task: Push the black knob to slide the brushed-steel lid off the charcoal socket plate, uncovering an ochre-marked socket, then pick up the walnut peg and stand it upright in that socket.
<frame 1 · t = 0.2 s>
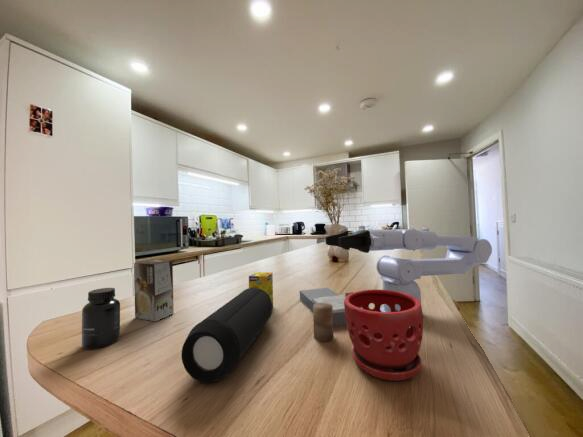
hand: (332, 241, 60), 21 cm above the table, tool horizontal, fingers open, 7 cm apart
supplement box: (261, 310, 71), on the table
sliding lid: (335, 297, 65), point 5 cm above the table, slide at 0.0 cm
walnut peg: (323, 337, 53), on the table
plant pot: (383, 365, 42), on the table
supplement bottle: (101, 343, 53), on the table
portable speaker: (237, 348, 50), on the table
coffee box: (154, 316, 69), on the table
socket plate: (335, 315, 65), on the table
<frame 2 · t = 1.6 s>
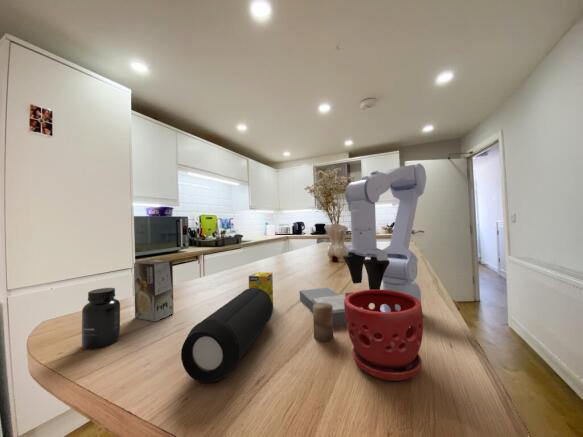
hand: (365, 286, 56), 10 cm above the table, tool pointing down, fingers open, 7 cm apart
nothing on the table moved.
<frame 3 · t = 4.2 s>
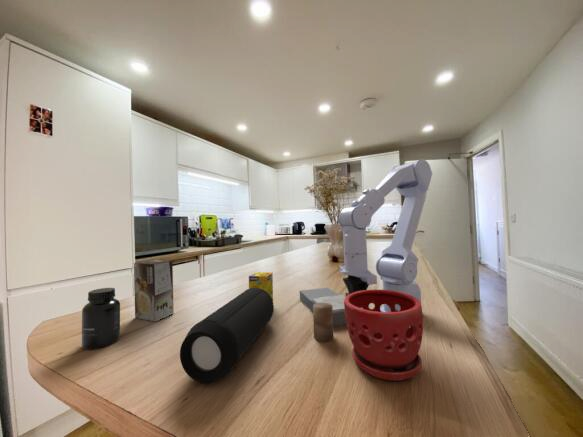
hand: (357, 306, 59), 4 cm above the table, tool pointing down, fingers closed
sliding lid: (335, 297, 65), point 5 cm above the table, slide at 0.0 cm, touching gripper
everything else where it was.
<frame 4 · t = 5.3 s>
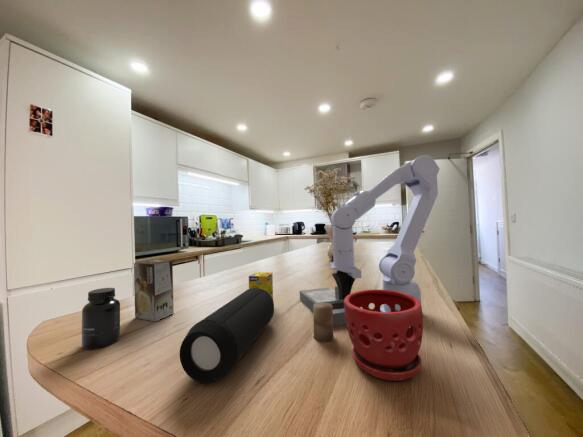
hand: (345, 298, 66), 4 cm above the table, tool pointing down, fingers closed
sliding lid: (326, 291, 71), point 5 cm above the table, slide at 6.4 cm, touching gripper
everything else where it was.
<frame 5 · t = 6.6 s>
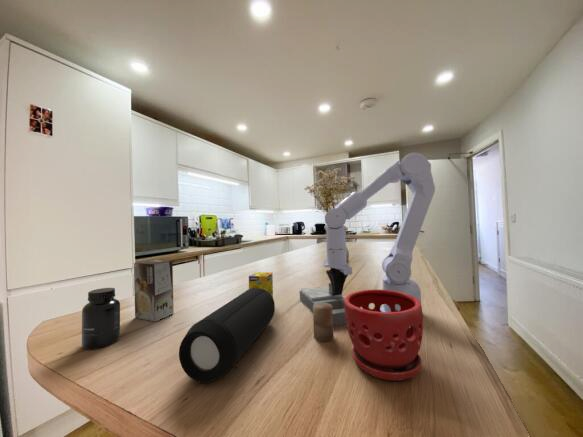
hand: (337, 294, 70), 4 cm above the table, tool pointing down, fingers closed
sliding lid: (320, 288, 75), point 5 cm above the table, slide at 10.8 cm, touching gripper
everything else where it was.
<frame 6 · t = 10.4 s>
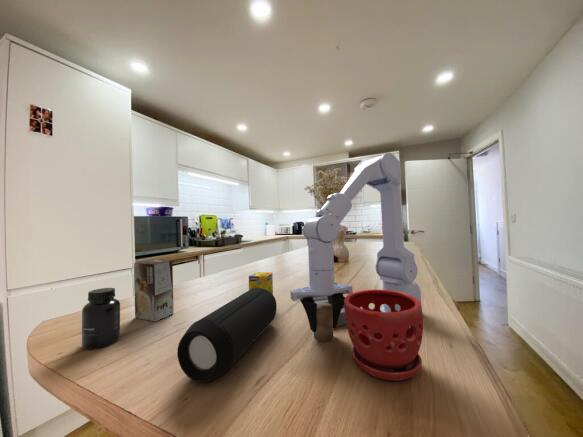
hand: (323, 328, 53), 2 cm above the table, tool pointing down, fingers closed on walnut peg, 4 cm apart
sliding lid: (320, 287, 75), point 5 cm above the table, slide at 10.9 cm
walnut peg: (323, 336, 53), on the table, touching gripper
everything else where it was.
when the fingers open (4 cm above the table, at t = 14.5 s): walnut peg drops 2 cm, resting on socket plate.
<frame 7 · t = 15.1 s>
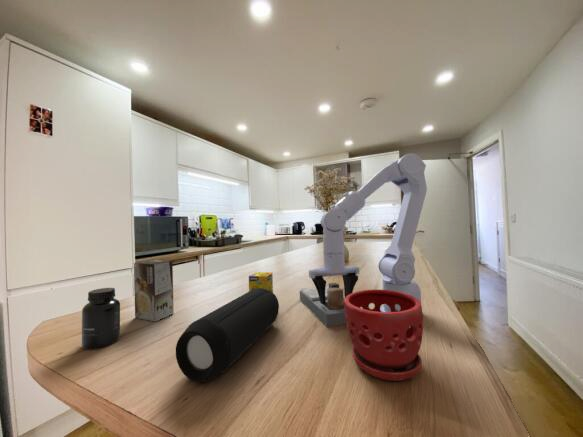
hand: (335, 301, 65), 4 cm above the table, tool pointing down, fingers open, 7 cm apart
walnut peg: (336, 315, 65), resting on socket plate
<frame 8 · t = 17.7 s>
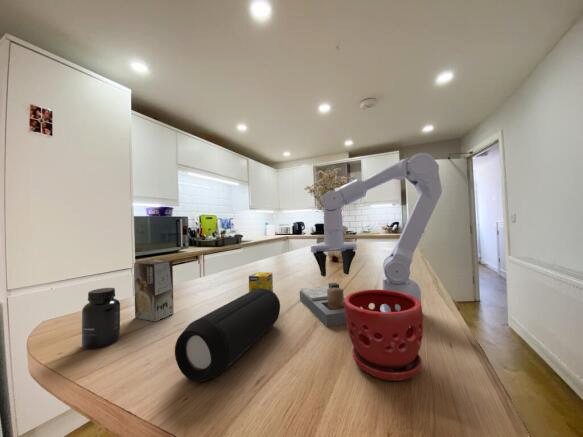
hand: (334, 274, 71), 10 cm above the table, tool pointing down, fingers open, 7 cm apart
at the end: sliding lid slide at 10.9 cm; walnut peg 0.0 cm off-centre on the socket plate, point 0.2 cm above the socket plate's base; walnut peg tilted 0° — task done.
